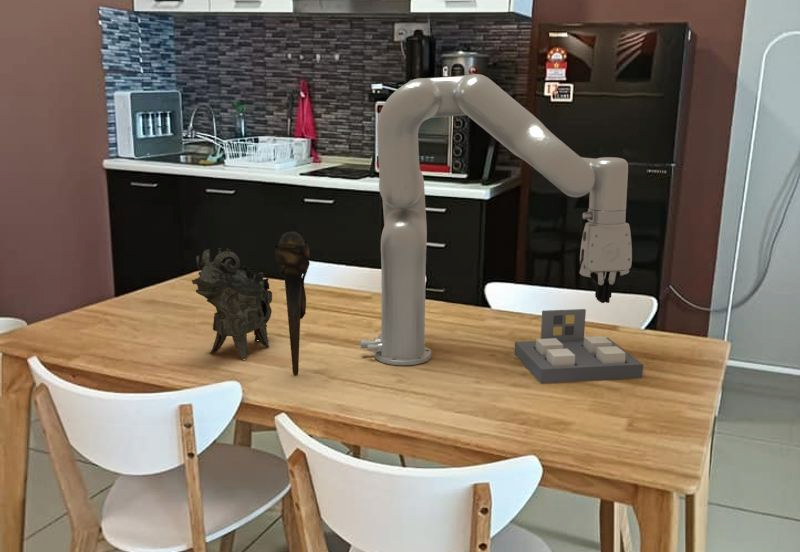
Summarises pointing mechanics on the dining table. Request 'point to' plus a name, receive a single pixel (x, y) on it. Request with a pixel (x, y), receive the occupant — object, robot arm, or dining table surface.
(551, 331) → the card
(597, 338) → the button
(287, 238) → the decorative torch
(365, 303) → the dining table surface
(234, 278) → the vessel
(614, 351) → the button
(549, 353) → the button
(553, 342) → the button
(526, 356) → the board
